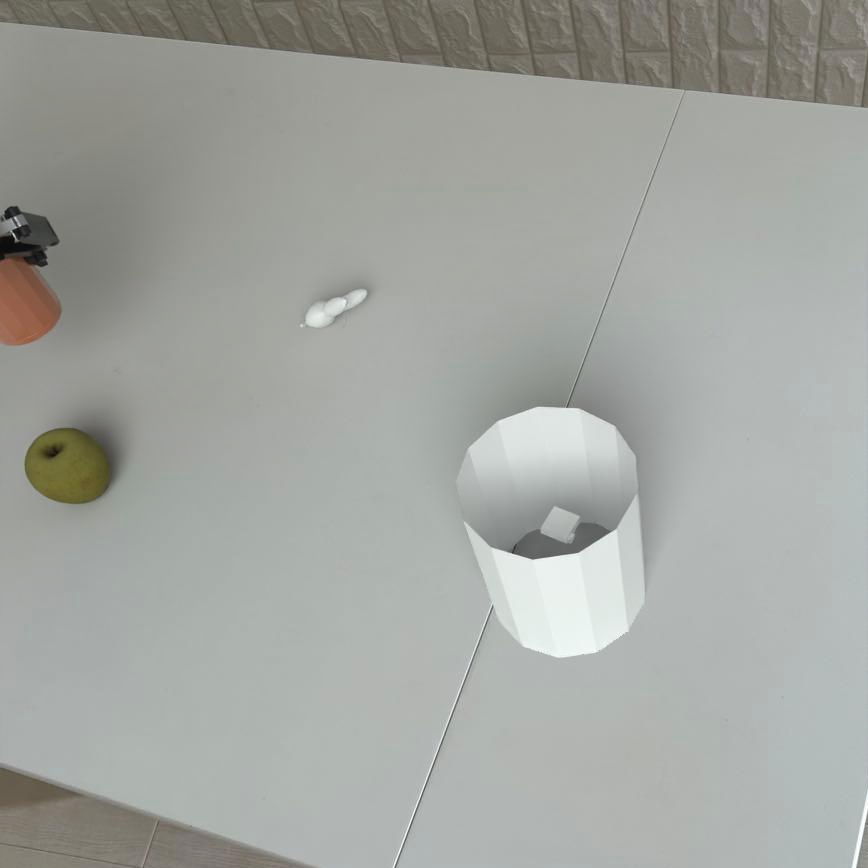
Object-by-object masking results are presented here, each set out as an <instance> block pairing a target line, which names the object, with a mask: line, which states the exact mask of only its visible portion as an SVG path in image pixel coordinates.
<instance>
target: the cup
mask: <svg viewBox="0 0 868 868" xmlns="http://www.w3.org/2000/svg"><path fill="white" fill-rule="evenodd" d="M0 222H2V220H1V219H0ZM62 312H63V305H62V301H61V299H60V298H59V297H58V294H57V293H56V291H54V289H53V287H51V285H50V283H49V282H48V281H47V279H46V278H45V277H44V275H43V274H42V273H41V272H40V270H39V268H38V266H37V265H35V264H32V263H30V262H28V261H27V260H26V259H25V257H16V258H8V259H4V260H3V261H1V262H0V344H2V345H5V346H10V347H17V346H24V345H27V344H30V343H33V342H36V341H38V340H40V339H41V338H43V337H44V336H46V335H47V334H49V333H50V332H51V331H52V330H53V328H54V327H55V326H57V324H58V322H59V320H60V318H61V316H62Z"/></svg>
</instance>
